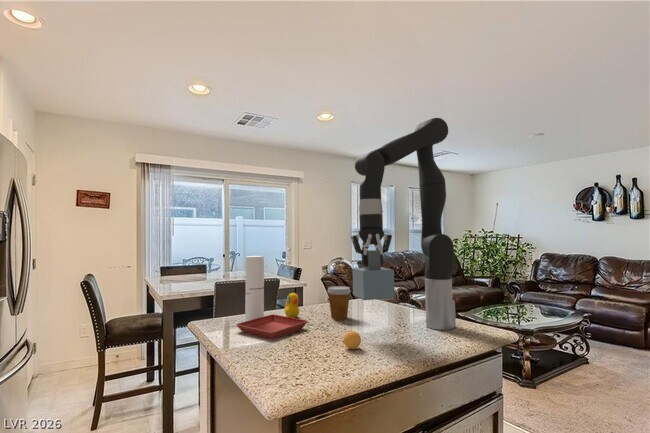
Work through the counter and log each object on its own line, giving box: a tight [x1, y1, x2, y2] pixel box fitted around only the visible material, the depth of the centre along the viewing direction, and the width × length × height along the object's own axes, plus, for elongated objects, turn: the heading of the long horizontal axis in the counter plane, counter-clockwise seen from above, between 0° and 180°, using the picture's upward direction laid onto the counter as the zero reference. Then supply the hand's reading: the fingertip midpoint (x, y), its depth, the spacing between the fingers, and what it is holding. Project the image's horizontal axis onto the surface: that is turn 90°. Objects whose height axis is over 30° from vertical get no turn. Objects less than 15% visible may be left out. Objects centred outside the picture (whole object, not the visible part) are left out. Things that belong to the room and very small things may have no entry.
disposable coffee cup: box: [326, 285, 352, 321], centre depth 140 cm, size 10×10×12 cm
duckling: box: [284, 292, 300, 319], centre depth 141 cm, size 11×5×10 cm, turn 21°
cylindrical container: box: [244, 255, 265, 322], centre depth 138 cm, size 7×7×25 cm
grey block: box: [352, 249, 396, 301], centre depth 113 cm, size 10×10×15 cm
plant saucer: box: [235, 313, 308, 340], centre depth 122 cm, size 18×18×3 cm
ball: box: [343, 330, 362, 350], centre depth 101 cm, size 5×5×5 cm
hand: (372, 266), depth 113 cm, fingers closed on grey block, 4 cm apart
